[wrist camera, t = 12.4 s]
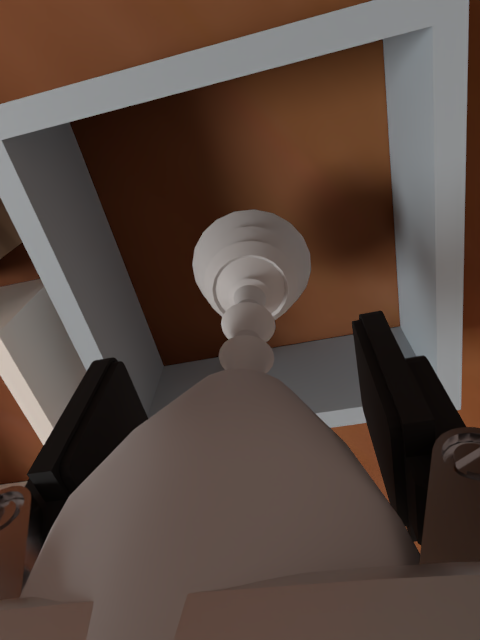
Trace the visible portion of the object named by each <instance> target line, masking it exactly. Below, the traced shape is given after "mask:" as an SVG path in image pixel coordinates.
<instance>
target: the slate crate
mask: <svg viewBox="0 0 480 640" xmlns="http://www.w3.org/2000/svg"><path fill="white" fill-rule="evenodd" d="M468 28H469V0H373V1H369V2H366V3H362V4H358V5H355V6H351V7H348V8H344V9H340V10H337V11H333V12H330V13H326V14H323V15H319V16H315V17H312V18H308V19H305V20H301V21H297V22H294V23H290V24H287V25H283V26H279V27H276V28H272V29H269V30H265V31H261V32H258V33H254V34H251V35H247V36H244V37H240V38H236V39H233V40H229V41H226V42H222V43H218V44H215V45H211V46H208V47H204V48H200V49H197V50H193V51H190V52H186V53H183V54H179V55H175V56H172V57H168V58H165V59H161V60H157V61H154V62H150V63H147V64H143V65H139V66H136V67H132V68H129V69H125V70H122V71H118V72H114V73H111V74H107V75H104V76H100V77H96V78H93V79H89V80H86V81H82V82H78V83H75V84H71V85H68V86H64V87H60V88H57V89H53V90H50V91H46V92H43V93H39V94H35V95H32V96H28V97H25V98H21V99H17V100H14V101H10V102H7V103H3V104H0V198H1V200H2V202H3V204H4V206H5V208H6V210H7V212H8V214H9V216H10V218H11V220H12V222H13V224H14V226H15V228H16V230H17V232H18V234H19V236H20V238H21V240H22V242H23V244H24V246H25V248H26V250H27V252H28V254H29V256H30V258H31V260H32V262H33V264H34V266H35V268H36V270H37V272H38V274H39V276H40V278H41V281H42V283H43V285H44V287H45V289H46V291H47V293H48V295H49V297H50V299H51V301H52V303H53V305H54V307H55V309H56V311H57V313H58V315H59V317H60V319H61V321H62V323H63V325H64V327H65V329H66V331H67V333H68V335H69V337H70V339H71V341H72V343H73V345H74V347H75V349H76V351H77V353H78V355H79V357H80V359H81V361H82V363H83V365H84V367H85V369H86V371H87V370H88V368H89V366H90V365H91V363H92V362H93V361H95V360H100V359H106V358H112V357H114V358H116V359H117V360H118V361H122V362H123V363H124V364H125V366H126V369H127V371H128V373H129V376H130V378H131V380H132V382H133V385H134V387H135V389H136V391H137V394H138V396H139V398H140V401H141V403H142V405H143V407H144V410H145V412H146V414H147V417H148V419H149V418H150V417H152V416H153V415H155V414H156V413H157V412H159V411H160V410H161V409H163V408H164V407H165V406H167V405H168V404H170V403H171V402H172V401H174V400H175V399H176V398H178V397H179V396H181V395H182V394H183V393H185V392H186V391H187V390H189V389H190V388H191V387H193V386H194V385H196V384H197V383H198V382H200V381H201V380H203V379H204V378H205V377H207V376H208V375H211V374H214V373H217V372H220V371H223V370H225V369H224V368H223V367H222V365H221V364H220V360H219V357H216V358H210V359H204V360H198V361H192V362H186V363H181V364H175V365H169V366H164V365H163V363H162V360H161V357H160V355H159V352H158V350H157V347H156V345H155V342H154V339H153V337H152V334H151V332H150V329H149V326H148V324H147V321H146V319H145V316H144V314H143V311H142V308H141V306H140V303H139V301H138V298H137V295H136V293H135V290H134V288H133V285H132V283H131V280H130V277H129V275H128V272H127V270H126V267H125V264H124V262H123V259H122V257H121V254H120V252H119V249H118V246H117V244H116V241H115V239H114V236H113V233H112V231H111V228H110V226H109V223H108V221H107V218H106V215H105V213H104V210H103V208H102V205H101V202H100V200H99V197H98V195H97V192H96V190H95V187H94V184H93V182H92V179H91V177H90V174H89V171H88V169H87V166H86V164H85V161H84V159H83V156H82V153H81V151H80V148H79V146H78V143H77V140H76V138H75V135H74V133H73V130H72V128H71V125H70V122H72V121H75V120H79V119H83V118H87V117H91V116H94V115H98V114H102V113H106V112H109V111H113V110H117V109H121V108H125V107H128V106H132V105H136V104H140V103H143V102H147V101H151V100H155V99H159V98H162V97H166V96H170V95H174V94H177V93H181V92H185V91H189V90H193V89H196V88H200V87H204V86H208V85H211V84H215V83H219V82H223V81H226V80H230V79H234V78H238V77H242V76H245V75H249V74H253V73H257V72H260V71H264V70H268V69H272V68H276V67H279V66H283V65H287V64H291V63H294V62H298V61H302V60H306V59H310V58H313V57H317V56H321V55H325V54H328V53H332V52H336V51H340V50H344V49H347V48H351V47H355V46H359V45H362V44H366V43H370V42H374V41H378V40H381V39H383V48H384V64H385V81H386V97H387V114H388V130H389V147H390V163H391V180H392V196H393V213H394V229H395V246H396V262H397V279H398V295H399V312H400V327H394V328H390V329H391V331H392V333H393V335H394V337H395V339H396V341H397V343H398V345H399V347H400V349H401V351H402V353H403V355H404V357H405V358H410V357H416V356H422V355H424V356H426V357H427V359H428V360H429V362H430V364H431V366H432V367H433V369H434V371H435V373H436V374H437V376H438V378H439V380H440V382H441V383H442V385H443V387H444V389H445V390H446V392H447V394H448V396H449V397H450V399H451V401H452V403H453V405H454V406H455V408H456V410H461V380H462V329H463V279H464V229H465V179H466V128H467V78H468ZM271 349H272V351H273V353H274V363H273V366H272V368H271V369H270V370H269V372H267V373H266V374H268V375H270V376H272V377H275V378H277V379H279V380H280V381H281V382H283V383H284V384H285V385H286V386H287V387H288V388H290V389H291V390H292V391H293V392H294V393H295V394H296V395H297V396H298V397H299V398H300V399H301V400H302V401H303V402H304V403H305V404H306V405H307V406H308V407H309V408H310V409H311V410H312V411H313V412H314V413H315V414H316V415H317V416H318V417H319V418H320V419H321V420H322V421H323V422H324V423H326V424H327V425H328V426H329V427H330V428H331V427H338V426H346V425H353V424H360V423H367V422H366V419H365V416H364V412H363V407H362V401H361V393H360V385H359V377H358V369H357V361H356V353H355V345H354V336H353V335H347V336H341V337H335V338H329V339H323V340H317V341H311V342H305V343H299V344H293V345H287V346H281V347H276V348H271Z"/></svg>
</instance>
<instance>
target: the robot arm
mask: <svg viewBox="0 0 480 640" xmlns="http://www.w3.org/2000/svg"><path fill="white" fill-rule="evenodd" d="M352 328H353V336H354V345H355V353H356V361H357V369H358V377H359V385H360V393H361V401H362V407H363V412H364V416H365V419H366V422H367V426H368V429H369V433H370V436H371V440H372V443H373V446H374V450H375V453H376V457H377V460H378V464H379V467H380V471H381V474H382V477H383V481H384V484H385V488H386V491H387V495H388V498H389V501H390V505H391V506H392V507H393V509H394V510H395V511H396V513H397V514H398V516H399V517H400V518H401V520H402V522H403V524H404V525H405V526H406V527H407V530H408V533H409V535H410V537H411V538H412V540H413V542H414V541H418V544H420V545H421V553H420V561H419V564H418V565H402V566H387V567H371V568H358V569H346V570H334V571H321V572H309V573H300V574H295V575H290V576H284V577H279V578H274V579H269V580H264V581H259V582H254V583H250V584H245V585H240V586H236V587H231V588H226V589H218V590H210V591H203V592H195V593H188V594H187V598H186V601H185V604H184V607H183V610H182V614H181V617H180V620H179V623H178V627H177V630H176V633H175V636H174V640H480V428H476V427H466V426H465V424H464V422H463V421H462V419H461V417H460V415H459V413H458V412H457V410H456V408H455V406H454V405H453V403H452V401H451V399H450V397H449V396H448V394H447V392H446V390H445V389H444V387H443V385H442V383H441V382H440V380H439V378H438V376H437V374H436V373H435V371H434V369H433V367H432V366H431V364H430V362H429V360H428V359H427V357H426V356H424V355H422V356H416V357H410V358H405V357H404V355H403V353H402V351H401V349H400V347H399V345H398V343H397V341H396V339H395V337H394V335H393V333H392V331H391V329H390V327H389V325H388V322H387V320H386V318H385V316H384V314H383V312H382V311H377V312H371V313H365V314H360V315H359V320H357V321H352ZM146 420H148V417H147V414H146V412H145V410H144V407H143V405H142V403H141V401H140V398H139V396H138V394H137V391H136V389H135V387H134V385H133V382H132V380H131V378H130V376H129V373H128V371H127V369H126V366H125V364H124V363H123V362H122V361H118V360H117V359H116V358H114V357H112V358H106V359H100V360H95V361H93V362H92V363H91V365H90V366H89V368H88V370H87V372H86V373H85V375H84V377H83V379H82V380H81V382H80V384H79V385H78V387H77V389H76V391H75V392H74V394H73V396H72V397H71V399H70V401H69V403H68V404H67V406H66V408H65V410H64V411H63V413H62V415H61V416H60V418H59V420H58V422H57V423H56V425H55V427H54V429H53V430H52V432H51V434H50V435H49V437H48V439H47V441H46V442H45V444H44V446H43V447H42V449H41V451H40V453H39V454H38V456H37V458H36V460H35V461H34V463H33V465H32V466H31V468H30V470H29V472H28V473H27V475H28V477H29V480H28V482H27V483H26V485H25V487H23V486H11V487H8V488H4V489H2V490H0V640H86V638H87V633H88V629H89V624H90V619H91V614H92V609H93V604H94V601H88V602H57V601H54V600H49V599H44V598H38V597H26V598H19V597H20V595H21V593H22V590H23V588H24V586H25V584H26V582H27V580H28V577H29V575H30V573H31V571H32V569H33V566H34V564H35V562H36V560H37V558H38V556H39V553H40V551H41V549H42V547H43V545H44V543H45V540H46V538H47V536H48V534H49V532H50V529H51V527H52V526H53V524H54V522H55V520H56V519H57V517H58V515H59V513H60V512H61V510H62V508H63V506H64V505H65V503H66V501H67V499H68V497H69V496H70V495H71V494H72V493H73V492H74V491H75V490H76V489H77V488H78V487H79V486H80V484H81V483H82V482H83V481H84V480H85V479H86V478H87V477H88V476H89V475H90V474H91V473H92V472H93V471H94V470H95V469H96V468H97V467H98V466H99V465H100V464H101V463H102V462H103V461H104V460H105V459H106V458H107V457H108V456H109V455H110V454H111V453H112V452H113V451H114V450H115V448H116V447H117V446H118V445H119V444H120V443H121V442H122V441H123V440H124V439H125V438H126V437H127V436H128V435H129V434H130V433H131V432H132V431H133V430H134V429H135V428H137V427H138V426H139V425H141V424H142V423H144V422H145V421H146Z"/></svg>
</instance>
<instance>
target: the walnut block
mask: <svg viewBox="0 0 480 640" xmlns="http://www.w3.org/2000/svg"><path fill="white" fill-rule="evenodd" d="M21 243H22V240H21V238H20V236H19V234H18V232H17V230H16V228H15V226H14V224H13V222H12V220H11V218H10V216H9V214H8V212H7V210H6V208H5V206H4V204H3V202H2V200H1V198H0V259H1V258H3V257H4V256H5V255H7V254H8V253H9V252H10V251H12V250H13V249H14V248H16V247H17V246H18V245H20V244H21Z"/></svg>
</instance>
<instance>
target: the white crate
mask: <svg viewBox="0 0 480 640" xmlns="http://www.w3.org/2000/svg"><path fill="white" fill-rule="evenodd" d="M86 372H87V371H86V369H85V367H84V365H83V363H82V361H81V359H80V357H79V355H78V353H77V351H76V349H75V347H74V345H73V343H72V341H71V339H70V337H69V335H68V333H67V331H66V329H65V327H64V325H63V323H62V321H61V319H60V317H59V315H58V313H57V311H56V309H55V307H54V305H53V303H52V301H51V299H50V297H49V295H48V293H47V291H46V289H45V287H44V285H43V283H42V281H41V279H36V280H31V281H27V282H22V283H17V284H12V285H7V286H3V287H0V376H1V377H2V379H3V380H4V382H5V384H6V385H7V387H8V389H9V390H10V392H11V393H12V395H13V397H14V398H15V400H16V401H17V403H18V405H19V406H20V408H21V410H22V411H23V413H24V414H25V416H26V418H27V419H28V421H29V422H30V424H31V426H32V427H33V429H34V431H35V432H36V434H37V435H38V437H39V439H40V440H41V442H42V444H43V445H44V444H45V442H46V441H47V439H48V437H49V435H50V434H51V432H52V430H53V429H54V427H55V425H56V423H57V422H58V420H59V418H60V416H61V415H62V413H63V411H64V410H65V408H66V406H67V404H68V403H69V401H70V399H71V397H72V396H73V394H74V392H75V391H76V389H77V387H78V385H79V384H80V382H81V380H82V379H83V377H84V375H85V373H86ZM27 482H28V481H24V482H17V483H10V484H2V485H0V490H2V489H4V488H8V487H11V486H23V487H25V485H26V483H27Z"/></svg>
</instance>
